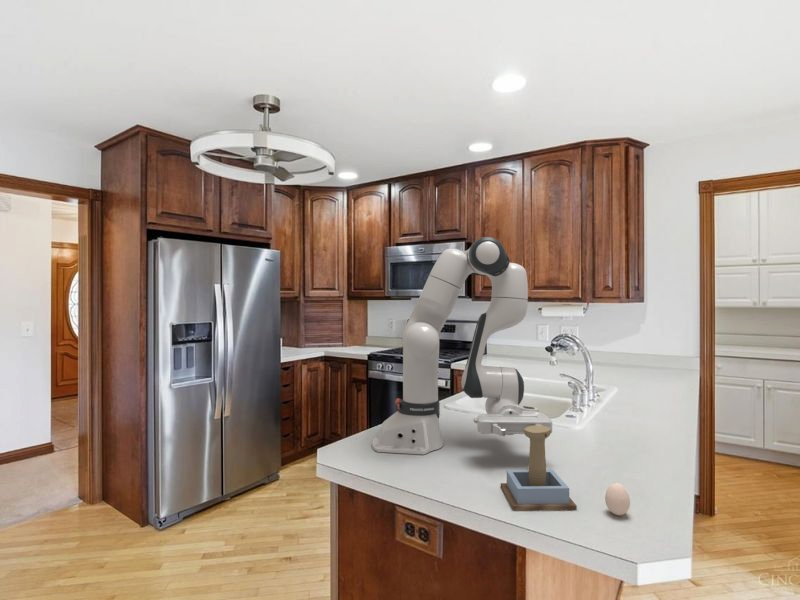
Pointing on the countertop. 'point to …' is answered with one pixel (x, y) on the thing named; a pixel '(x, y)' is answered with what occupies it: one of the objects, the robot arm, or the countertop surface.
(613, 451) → the countertop surface
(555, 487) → the square frame
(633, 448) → the countertop surface
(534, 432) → the handle
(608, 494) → the egg
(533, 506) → the board
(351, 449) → the countertop surface
